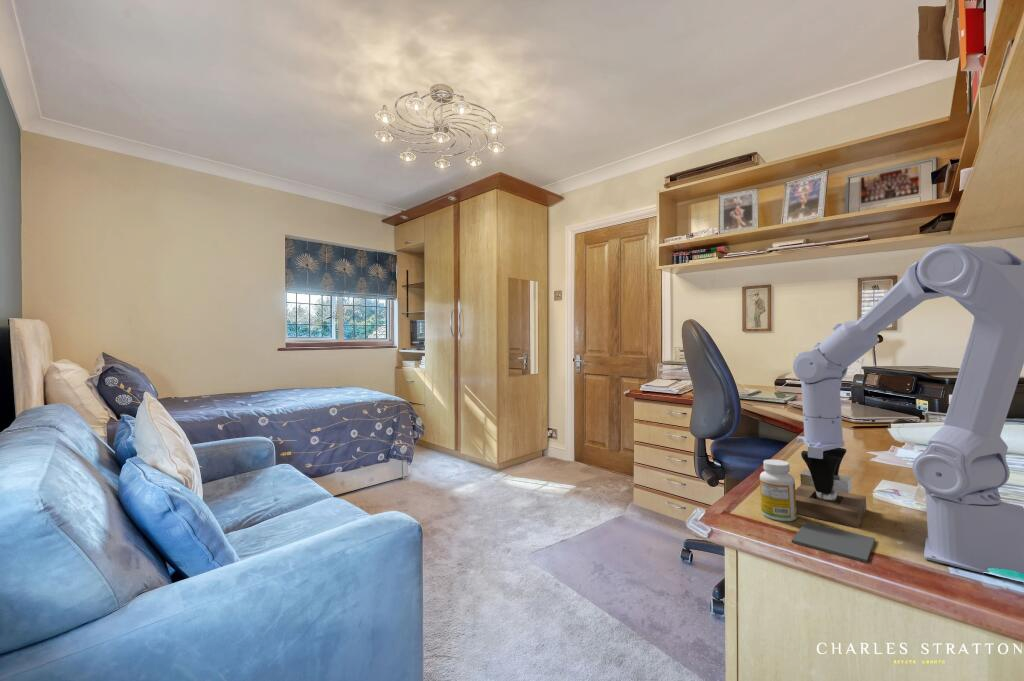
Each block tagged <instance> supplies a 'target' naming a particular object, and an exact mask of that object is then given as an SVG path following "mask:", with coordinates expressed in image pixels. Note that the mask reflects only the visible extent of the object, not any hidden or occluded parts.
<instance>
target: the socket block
mask: <svg viewBox="0 0 1024 681" xmlns="http://www.w3.org/2000/svg"><path fill="white" fill-rule="evenodd" d="M795 494H796V512H797V515H800V516H806V517H810V518H814V519H817V520H818V519H819V520H824V521H827V522H831V523H837V524H840V525H845V526H848V527H849V526H850V527H855V528H859V527H860V525H861V522H862V521H863V519H864V516H865V514H866V512H867V497H866V496H865V495H861V494H856V493H851V492H849V493H844V492H838V491H836V494H837V503H833V502H828V501H823V500H818V499H817V498H816V489H815V487H811V486H805V485H801V484H799V486H798V487H797V488H795Z"/></svg>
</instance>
